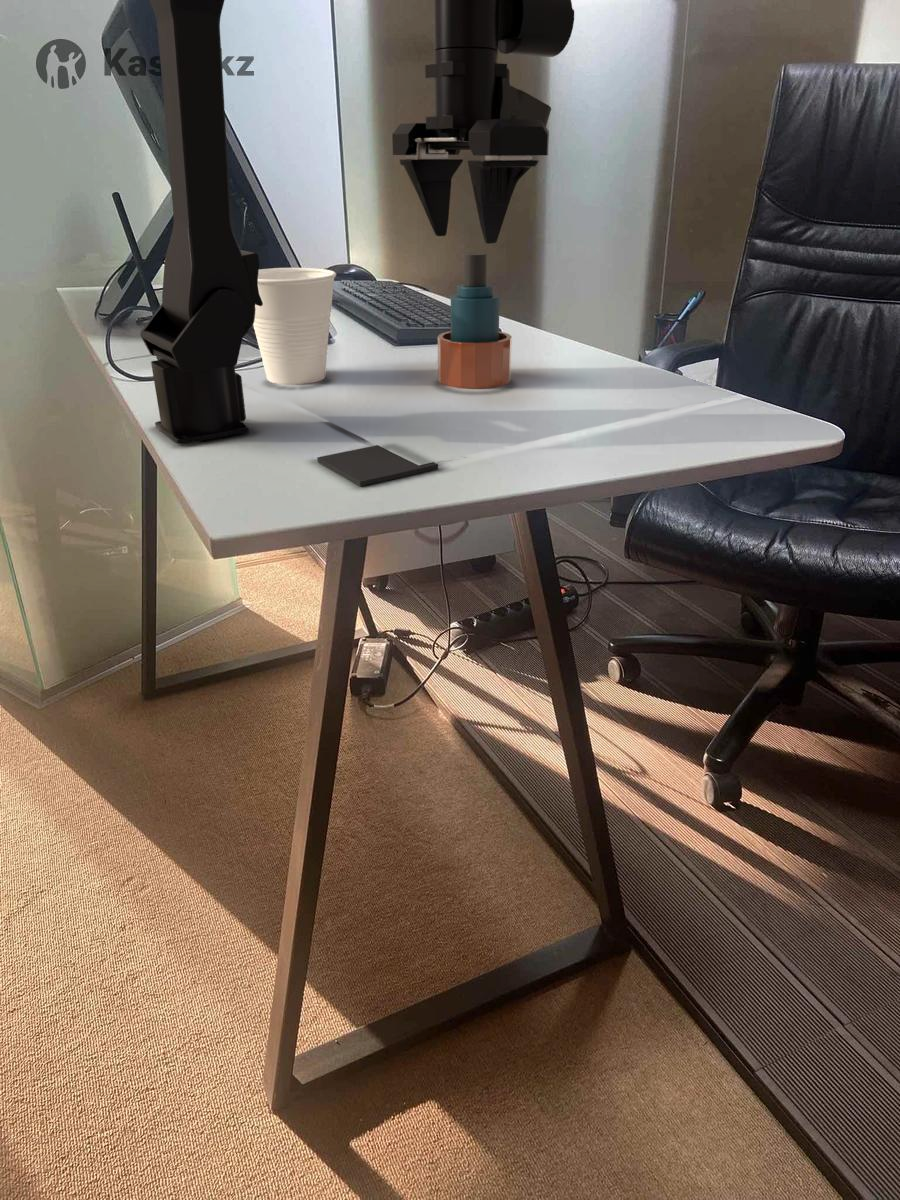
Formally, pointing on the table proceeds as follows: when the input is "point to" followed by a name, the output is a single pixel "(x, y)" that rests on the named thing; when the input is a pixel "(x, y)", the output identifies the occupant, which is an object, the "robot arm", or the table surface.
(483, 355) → the holder
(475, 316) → the bottle
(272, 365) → the cup
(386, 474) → the coaster
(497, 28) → the robot arm
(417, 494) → the table surface
